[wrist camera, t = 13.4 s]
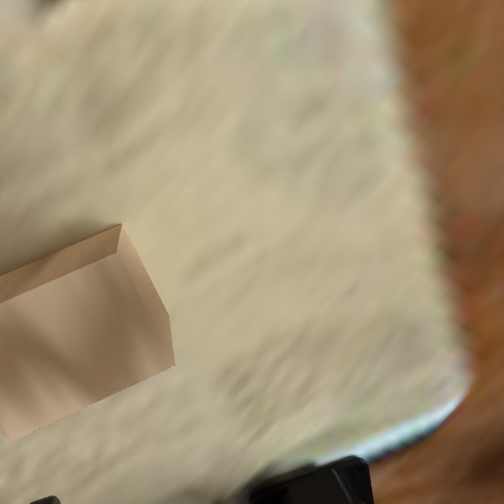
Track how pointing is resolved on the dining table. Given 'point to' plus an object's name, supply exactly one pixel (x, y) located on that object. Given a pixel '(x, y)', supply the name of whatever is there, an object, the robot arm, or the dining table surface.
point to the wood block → (77, 331)
